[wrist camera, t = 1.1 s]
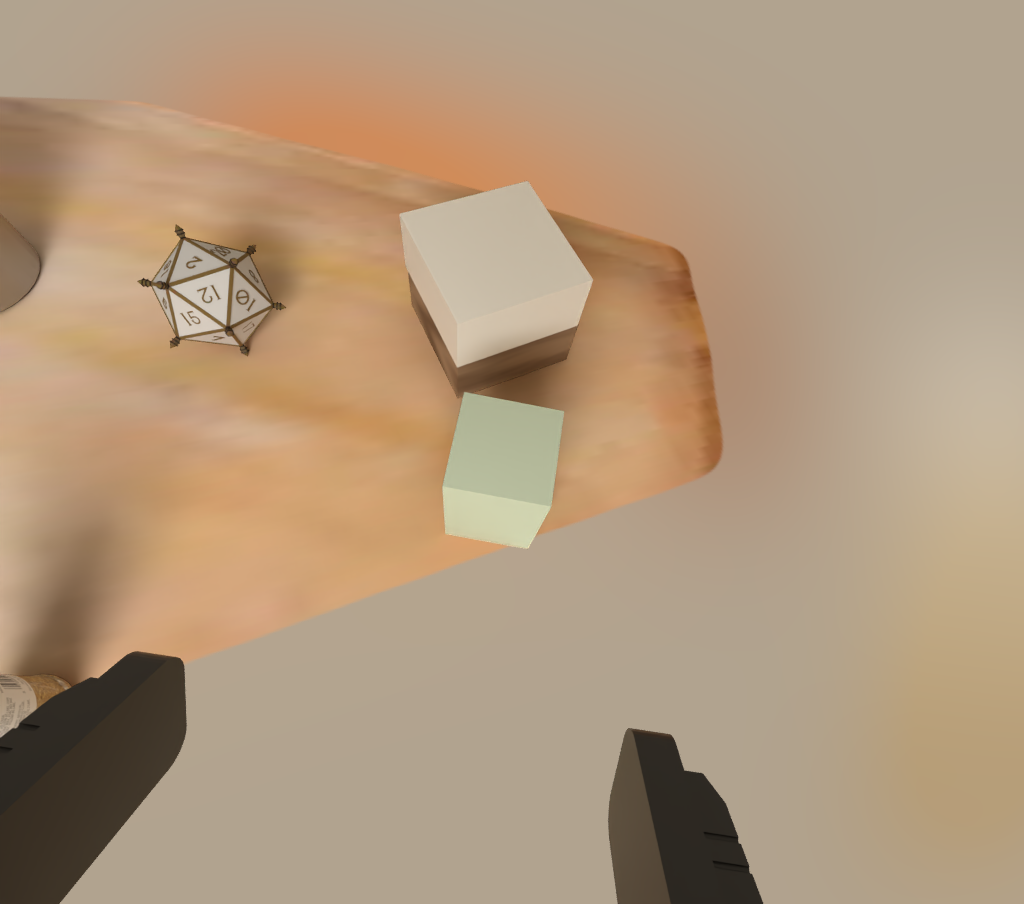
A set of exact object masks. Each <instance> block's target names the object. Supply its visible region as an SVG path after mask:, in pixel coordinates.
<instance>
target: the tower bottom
mask: <svg viewBox="0 0 1024 904" xmlns="http://www.w3.org/2000/svg"><path fill="white" fill-rule="evenodd" d="M408 275H409V284H410V292H411V301H412V306H413V308H414V310H415V312H416V314H417V316H418V318H419V320H420V322H421V324H422V326H423V328H424V330H425V333H426V335H427V337H428V339H429V341H430V343H431V345H432V347H433V349H434V351H435V353H436V355H437V357H438V359H439V361H440V363H441V365H442V367H443V369H444V371H445V373H446V376H447V378H448V380H449V382H450V384H451V386H452V388H453V390H454V392H455V394H456V396H457V398H460V397H463V395H464V392H467V393H474V392H477V391H480V390H482V389H485V388H488V387H491V386H493V385H496V384H499V383H502V382H505V381H507V380H510V379H513V378H516V377H519V376H521V375H524V374H527V373H530V372H532V371H535V370H538V369H541V368H544V367H546V366H549V365H552V364H555V363H557V362H560V361H563V360H566V359H567V356H568V353H569V350H570V347H571V344H572V341H573V338H574V336H575V333H576V330H577V327H578V326H575V327H572V328H570V329H567V330H564V331H561V332H558V333H555V334H552V335H549V336H547V337H544V338H541V339H538V340H535V341H532V342H529V343H526V344H524V345H521V346H518V347H515V348H512V349H509V350H506V351H503V352H501V353H498V354H495V355H492V356H489V357H486V358H483V359H481V360H478V361H475V362H472V363H469V364H466V365H463V366H460V367H458V368H457V366H456V365H455V363H454V361H453V359H452V357H451V355H450V353H449V351H448V349H447V347H446V345H445V343H444V341H443V339H442V337H441V335H440V333H439V331H438V329H437V327H436V325H435V323H434V321H433V319H432V317H431V315H430V313H429V311H428V309H427V307H426V305H425V303H424V302H423V300H422V298H421V296H420V294H419V292H418V290H417V288H416V286H415V284H414V282H413V280H412V278H411V276H410V274H409V272H408Z"/></svg>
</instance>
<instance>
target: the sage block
mask: <svg viewBox="0 0 1024 904" xmlns="http://www.w3.org/2000/svg"><path fill="white" fill-rule="evenodd" d="M563 417H564V411H561V410H556V409H550V408H545V407H540V406H535V405H529V404H524V403H519V402H514V401H509V400H503V399H498V398H493V397H488V396H483V395H477V394H472V393H467V392H464V395H463V400H462V404H461V408H460V413H459V417H458V421H457V426H456V430H455V434H454V438H453V443H452V447H451V451H450V456H449V460H448V464H447V469H446V473H445V477H444V482H443V486H442V488H443V503H444V519H445V534H448V535H453V536H459V537H464V538H470V539H475V540H481V541H486V542H491V543H497V544H502V545H508V546H513V547H518V548H524V549H528V548H529V546H530V544H531V542H532V541H533V539H534V537H535V535H536V533H537V532H538V530H539V528H540V526H541V524H542V523H543V521H544V519H545V517H546V515H547V514H548V512H549V510H550V508H551V505H552V498H553V490H554V483H555V476H556V468H557V461H558V454H559V446H560V439H561V432H562V424H563Z"/></svg>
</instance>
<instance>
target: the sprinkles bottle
mask: <svg viewBox="0 0 1024 904" xmlns="http://www.w3.org/2000/svg"><path fill="white" fill-rule="evenodd" d="M69 688H71V686H70V684H69V683H68V682H66V681H65V680H64V679H62V678H59V677H57V676H55V675H46V674H39V675H34V676H14V675H7V674H0V737H2V736H3V735H4V734H6V733H7V732H8V731H9V730H11V729H12V728H17V727H18V725H19V723H20V722H21V721H22V720H23V719H25V718H26V717H27V716H28V715H30V714H31V713H32V712H34V711H35V710H36V709H37V708H39V707H40V706H41V705H42V704H44V703H45V702H46V701H48V700H49V699H50V698H51V697H53V696H55V695H57V694H59V693H61V692H63V691H65V690H67V689H69Z"/></svg>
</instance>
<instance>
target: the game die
mask: <svg viewBox="0 0 1024 904" xmlns="http://www.w3.org/2000/svg"><path fill="white" fill-rule="evenodd" d="M175 232H176V233H177V235H178V236H179V237H180V241H179V242H178V244H177V245H176V247H175V248H174V249H173V251H172V252H171V254H170V255H169V257H168V258H167V260H166V261H165V262H164V264H163V265H162V267H161V268H160V270H159V271H158V273H157V274H156V275H155V277H154V278H153V280H152V281H149V280H148V279H147V280H145V279H144V278H143V279H142V280H139V281H137V282H139V283H140V284H141V285H142V286H143V287H144V286H147V287H148V286H151V287H152V289H153V291H154V293H155V295H156V297H157V299H158V301H159V303H160V305H161V307H162V309H163V311H164V313H165V315H166V317H167V319H168V321H169V323H170V325H171V327H172V329H173V331H174V333H175V335H176V337H175V338H174V339H173V338H172V339H173V340H172V341H170V348H172V347H175V346H178V344H180V343H179V342H180V340H190V341H198V342H207V343H215V344H223V345H232V346H240V350H241V351H242V352H241V353H243V354H245V355H246V356H248V351H249V350H248V349H247V347H245V346H244V344H245V343H246V341H247V340H248V339H249V338H250V336H251V335H252V334H253V332H254V331H255V330H256V329H257V327H258V326H259V325H260V324H261V322H262V321H263V320H264V318H265V317H266V316H267V315H268V313H269V312H270V311H271V310H272V308H276V309H279V310H281V309H284V308H286V307H285V306H284V305H282V304H281V303H278V302H277V303H273V301H272V299H271V297H270V295H269V293H268V291H267V289H266V287H265V285H264V283H263V281H262V279H261V277H260V274H259V272H258V270H257V268H256V266H255V264H254V262H253V260H252V258H251V256H250V255H251V254H254V252H256V250H255V248H256V245H252V246H249V248H247V252H244V251H240V250H236V249H232V248H227V247H223V246H219V245H215V244H211V243H207V242H203V241H199V240H194V239H190V238H186V237H185V234H184V233H185V232H184V231H183V229H182V228H180V227H179V226H177V225H176V227H175Z"/></svg>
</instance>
